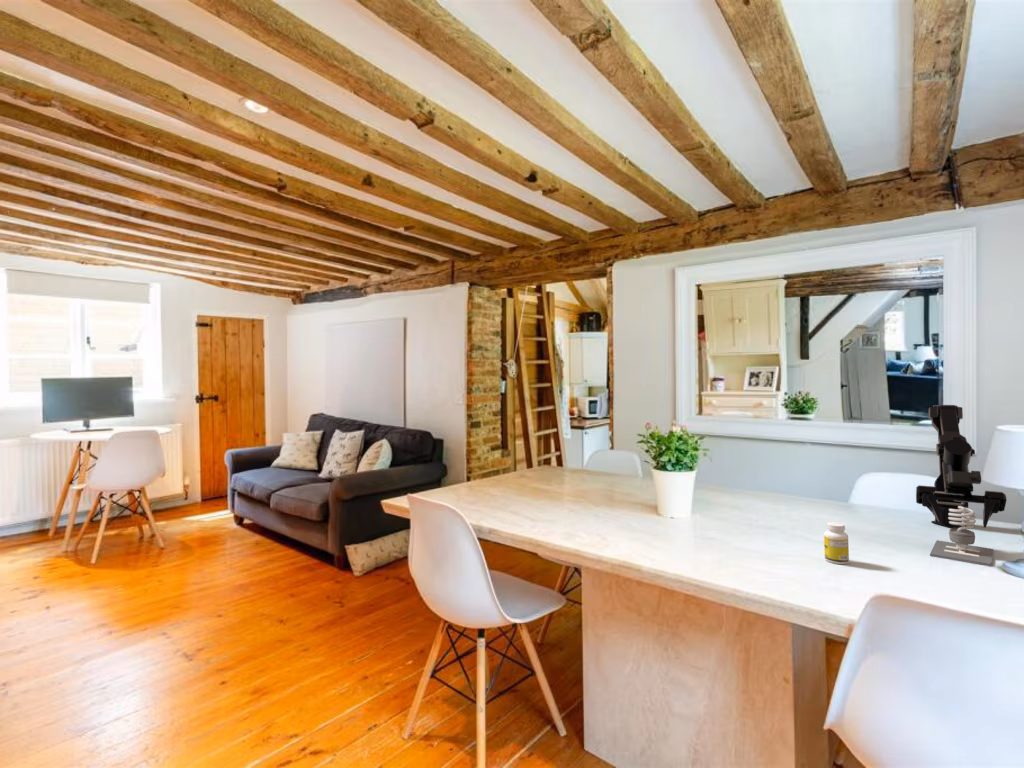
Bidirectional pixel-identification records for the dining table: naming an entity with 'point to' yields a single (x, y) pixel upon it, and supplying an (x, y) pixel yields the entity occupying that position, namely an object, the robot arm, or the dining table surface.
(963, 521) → the light bulb
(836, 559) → the supplement bottle
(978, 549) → the board
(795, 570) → the dining table surface
